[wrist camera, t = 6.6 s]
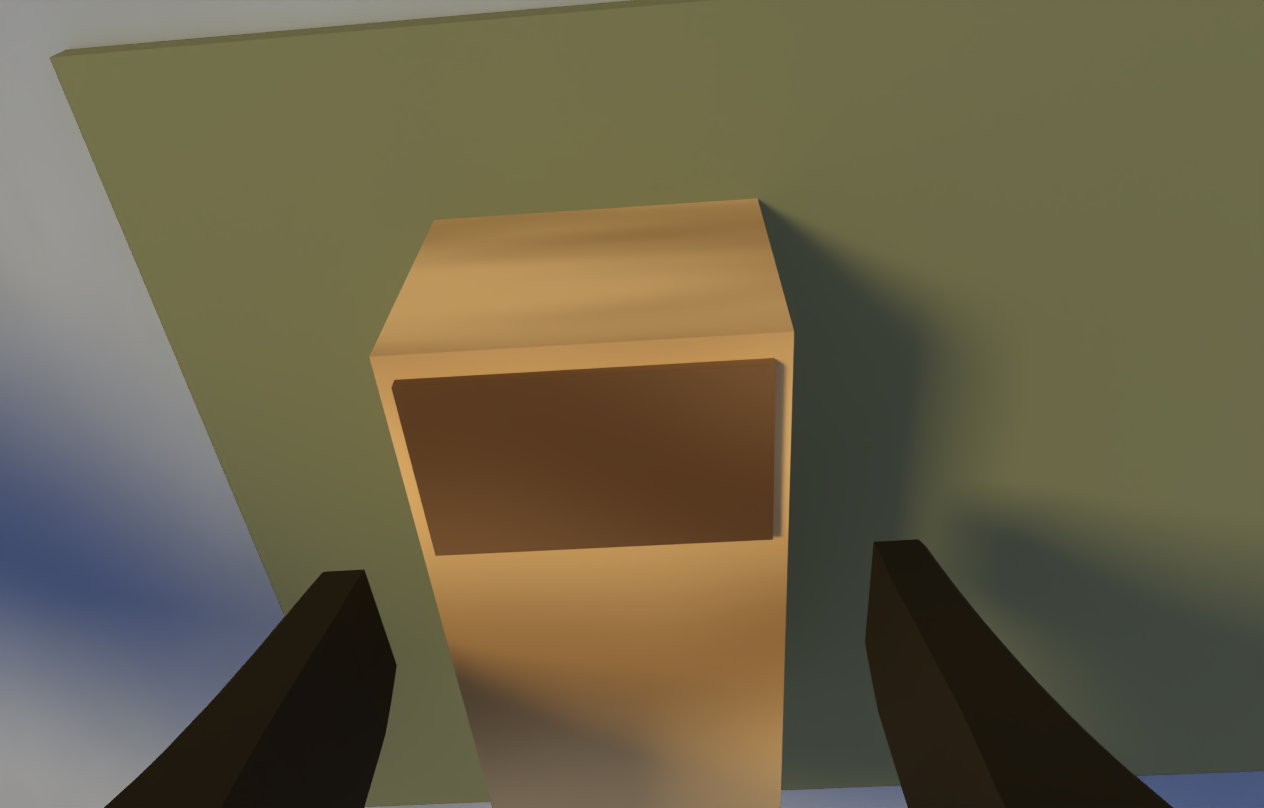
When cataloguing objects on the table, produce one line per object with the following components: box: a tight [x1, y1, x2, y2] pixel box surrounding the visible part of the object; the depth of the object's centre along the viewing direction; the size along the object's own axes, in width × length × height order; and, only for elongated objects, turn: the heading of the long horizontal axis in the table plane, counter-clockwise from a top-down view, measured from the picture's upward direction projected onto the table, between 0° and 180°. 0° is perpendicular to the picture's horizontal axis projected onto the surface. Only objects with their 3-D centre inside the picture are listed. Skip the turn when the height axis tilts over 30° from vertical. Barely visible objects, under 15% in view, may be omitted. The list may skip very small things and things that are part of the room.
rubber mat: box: [50, 0, 1264, 807], centre depth 15 cm, size 24×16×1 cm, turn 95°
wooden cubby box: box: [369, 198, 794, 808], centre depth 14 cm, size 10×4×4 cm, turn 4°
